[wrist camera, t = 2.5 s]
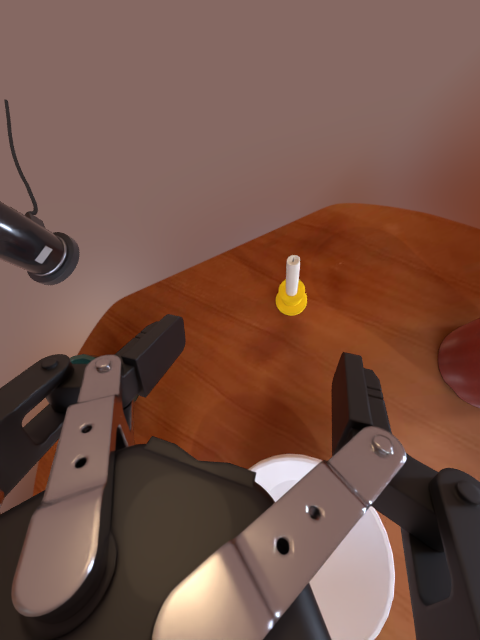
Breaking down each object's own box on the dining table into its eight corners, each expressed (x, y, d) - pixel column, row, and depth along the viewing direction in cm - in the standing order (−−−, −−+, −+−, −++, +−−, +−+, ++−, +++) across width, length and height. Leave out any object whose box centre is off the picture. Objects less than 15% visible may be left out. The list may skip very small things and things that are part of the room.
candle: (270, 297, 42) (261, 253, 27) (295, 281, 42) (300, 227, 27) (286, 321, 41) (286, 289, 26) (313, 305, 41) (328, 262, 26)
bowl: (396, 493, 33) (425, 524, 26) (334, 643, 30) (348, 720, 24) (267, 416, 38) (262, 424, 31) (205, 538, 36) (186, 576, 29)
